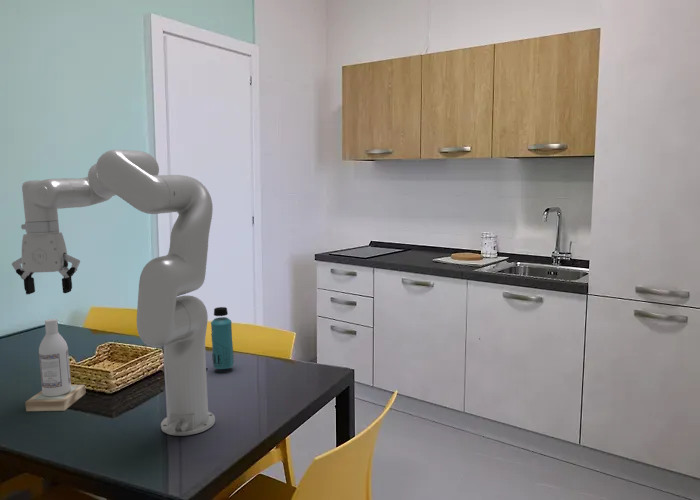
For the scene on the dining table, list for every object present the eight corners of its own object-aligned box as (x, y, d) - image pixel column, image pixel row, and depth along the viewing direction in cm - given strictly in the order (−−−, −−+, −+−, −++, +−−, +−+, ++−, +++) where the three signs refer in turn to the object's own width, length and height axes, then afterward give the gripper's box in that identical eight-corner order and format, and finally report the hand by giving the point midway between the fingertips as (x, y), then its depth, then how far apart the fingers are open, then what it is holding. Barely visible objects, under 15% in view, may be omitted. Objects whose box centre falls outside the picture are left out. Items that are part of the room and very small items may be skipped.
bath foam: (59, 386, 156) (53, 316, 154) (77, 389, 154) (71, 318, 151) (36, 395, 150) (30, 322, 148) (54, 398, 147) (48, 324, 145)
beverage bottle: (236, 367, 178) (234, 305, 176) (230, 374, 172) (227, 310, 169) (216, 366, 179) (214, 305, 176) (209, 374, 172) (206, 310, 170)
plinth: (64, 410, 146) (63, 400, 146) (26, 411, 146) (25, 401, 146) (85, 393, 158) (85, 384, 158) (50, 393, 158) (49, 384, 158)
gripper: (0, 230, 142) (7, 296, 145) (68, 228, 143) (74, 294, 145) (17, 228, 150) (24, 291, 152) (82, 226, 150) (88, 289, 152)
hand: (48, 292), depth 148 cm, fingers open, 9 cm apart
